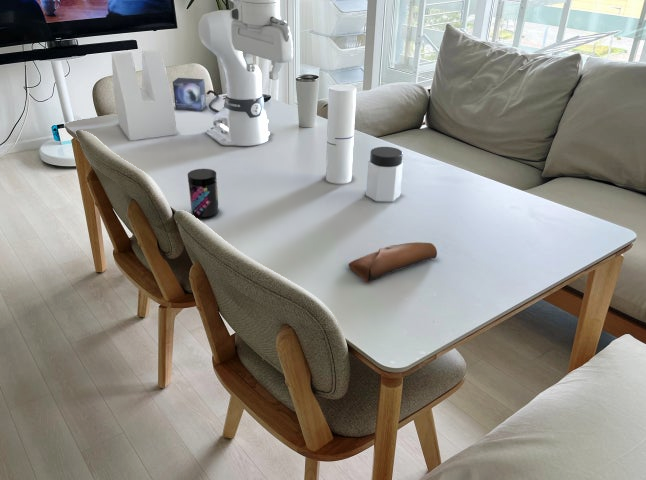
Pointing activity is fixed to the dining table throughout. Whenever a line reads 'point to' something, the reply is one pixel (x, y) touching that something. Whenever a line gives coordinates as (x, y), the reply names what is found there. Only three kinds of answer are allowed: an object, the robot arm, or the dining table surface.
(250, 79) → the robot arm
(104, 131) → the dining table surface
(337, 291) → the dining table surface
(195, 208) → the supplement container
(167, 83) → the white notched block
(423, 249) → the sunglasses case
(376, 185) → the jar
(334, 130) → the cylindrical container
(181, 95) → the small box
